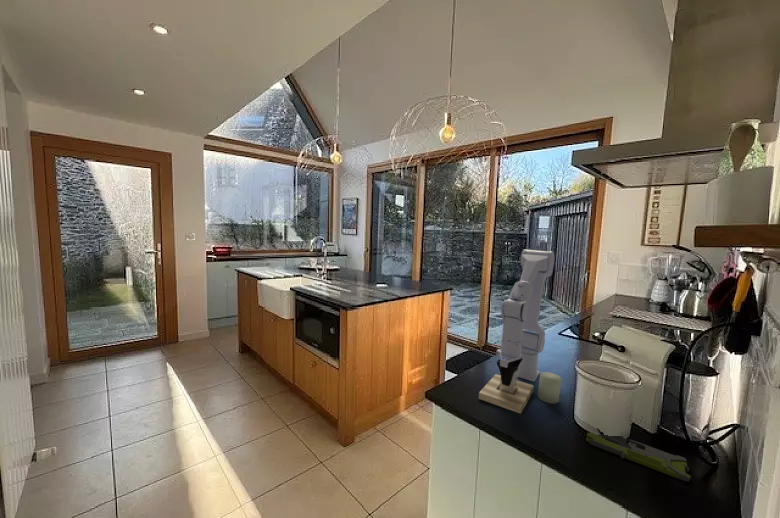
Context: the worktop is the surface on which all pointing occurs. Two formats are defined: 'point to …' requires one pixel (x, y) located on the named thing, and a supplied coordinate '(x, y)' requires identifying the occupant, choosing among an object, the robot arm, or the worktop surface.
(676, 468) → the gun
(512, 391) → the square peg
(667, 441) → the worktop surface
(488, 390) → the socket board
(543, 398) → the round peg
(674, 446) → the worktop surface
